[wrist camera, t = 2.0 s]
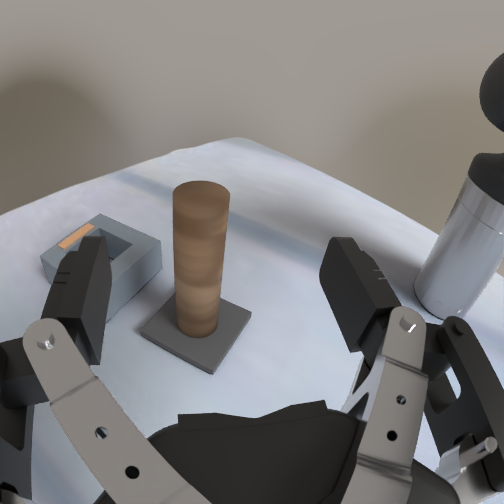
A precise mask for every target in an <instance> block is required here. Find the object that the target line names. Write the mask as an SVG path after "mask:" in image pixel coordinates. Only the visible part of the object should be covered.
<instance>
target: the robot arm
mask: <svg viewBox="0 0 504 504" xmlns="http://www.w3.org/2000/svg"><path fill="white" fill-rule="evenodd" d="M479 97H480V104H481V108H482V110H483V112H484V114H485V116H486V117H487V118H488V120H489V121H490V122H491V123H492V124H493V125H495V126H496V127H497V128H498V129H500V130H501V131H503V132H504V53H503V54H502V55H500V56H499V57H498V58H497V59H496V60H495V61H494V62H493V63H492V64H491V65H490V67H489V68H488V70H487V71H486V73H485V75H484V77H483V79H482V82H481V86H480V96H479ZM503 259H504V153H501V154H492V153H479V154H477V155H476V156H475V157H474V159H473V161H472V163H471V166H470V168H469V171H468V174H467V176H466V178H465V181H464V183H463V186H462V188H461V190H460V193H459V195H458V198H457V199H456V202H455V204H454V206H453V209H452V210H451V213H450V215H449V217H448V219H447V221H446V223H445V225H444V227H443V229H442V231H441V233H440V235H439V237H438V239H437V241H436V243H435V245H434V247H433V249H432V251H431V253H430V255H429V257H428V258H427V260H426V262H425V264H424V266H423V267H422V269H421V271H420V273H419V275H418V276H417V278H416V280H415V282H414V289H415V293H416V296H417V298H418V299H419V301H420V302H421V303H422V305H423V306H424V307H425V308H426V309H427V310H428V311H429V312H431V313H432V314H434V315H435V316H437V317H439V318H441V319H444V322H443V323H442V324H441V325H437V324H431V323H425V321H424V319H423V318H422V316H421V315H420V314H419V313H418V312H416V311H415V310H413V309H411V308H409V307H405V306H402V305H401V303H400V301H399V300H398V298H397V296H396V295H395V293H394V291H393V290H392V288H391V287H390V285H389V283H388V282H387V280H386V279H385V277H384V275H383V274H382V272H381V271H380V269H379V267H378V266H377V264H376V263H375V261H374V259H372V258H371V257H370V256H369V255H368V254H367V253H365V252H364V251H361V250H360V249H359V247H358V245H357V244H356V242H355V241H354V239H353V238H350V237H332V238H331V239H330V241H329V244H328V247H327V250H326V253H325V256H324V259H323V261H322V264H321V267H320V272H319V279H320V284H321V286H322V288H323V291H324V293H325V295H326V298H327V300H328V302H329V304H330V307H331V309H332V311H333V314H334V316H335V318H336V321H337V323H338V325H339V328H340V330H341V332H342V335H343V337H344V339H345V342H346V344H347V347H348V349H349V351H350V353H352V352H358V351H362V353H363V355H364V356H363V357H362V359H361V361H360V363H359V366H358V369H357V372H356V375H355V378H354V381H353V384H352V387H351V389H350V392H349V395H348V397H347V400H346V402H345V404H344V406H343V407H342V409H341V410H340V411H337V410H332V409H327V406H326V403H325V400H321V401H315V402H309V403H302V404H296V405H290V406H288V407H285V408H283V409H280V410H278V411H275V412H273V413H270V414H268V415H265V416H262V417H259V418H247V417H240V416H233V415H226V414H220V413H203V414H178V423H177V424H174V425H170V426H168V427H165V428H163V429H161V430H159V431H157V432H155V433H154V434H152V435H151V436H150V437H148V438H147V439H146V438H145V437H144V436H143V434H142V433H141V432H140V431H139V430H138V428H137V427H136V426H135V425H134V424H133V422H132V421H131V420H130V419H129V417H128V416H127V415H126V414H125V412H124V411H123V410H122V408H121V407H120V406H119V405H118V403H117V402H116V401H115V399H114V398H113V397H112V395H111V394H110V393H109V391H108V390H107V388H106V387H105V386H104V384H103V383H102V382H101V380H100V379H99V378H98V377H97V376H95V375H94V373H93V372H92V370H91V369H90V365H100V359H101V351H102V343H103V336H104V329H105V323H106V316H107V310H108V304H109V299H110V293H111V287H112V270H111V265H110V260H109V254H108V248H107V242H106V238H105V236H83V238H82V240H81V243H80V246H79V248H78V251H69V252H68V253H67V254H66V255H65V257H64V258H63V259H62V260H61V261H60V264H59V266H58V269H57V271H56V275H55V277H54V280H53V284H52V285H51V288H50V291H49V294H48V297H47V300H46V303H45V306H44V309H43V312H42V316H41V319H40V320H38V321H36V322H34V323H33V324H31V325H30V326H29V327H28V329H27V330H26V332H25V334H24V337H21V338H18V339H14V340H10V341H6V342H1V343H0V504H37V503H35V502H34V501H32V492H31V448H32V428H33V415H34V404H38V403H43V402H47V401H50V403H51V404H50V407H51V409H52V411H53V413H54V415H55V417H56V418H57V420H58V422H59V423H60V425H61V427H62V428H63V430H64V432H65V433H66V435H67V437H68V438H69V440H70V441H71V443H72V444H73V446H74V447H75V449H76V450H77V452H78V453H79V455H80V456H81V458H82V459H83V461H84V462H85V464H86V465H87V466H88V468H89V469H90V471H91V472H92V473H93V475H94V476H95V477H96V479H97V480H98V481H99V483H100V484H101V485H102V487H103V488H104V489H105V490H104V491H103V493H102V494H101V495H100V496H99V498H98V499H97V500H96V501H95V503H94V504H479V503H481V502H482V501H484V500H486V499H488V498H491V497H493V496H495V495H498V494H500V493H502V492H504V389H503V387H502V385H501V383H500V381H499V379H498V377H497V375H496V373H495V371H494V369H493V367H492V365H491V363H490V361H489V360H488V358H487V356H486V354H485V352H484V350H483V348H482V347H481V345H480V343H479V341H478V339H477V338H476V336H475V334H474V332H473V331H472V329H471V327H470V326H469V325H468V323H467V322H466V321H464V320H463V319H462V318H463V317H464V316H465V315H466V313H467V312H468V311H469V309H470V308H471V307H472V305H473V304H474V303H475V301H476V300H477V298H478V297H479V296H480V294H481V293H482V291H483V290H484V288H485V287H486V285H487V284H488V282H489V281H490V279H491V278H492V276H493V275H494V273H495V272H496V270H497V269H498V267H499V265H500V263H501V262H502V260H503ZM450 367H452V369H453V371H454V373H455V375H456V377H457V380H458V382H459V384H460V387H461V393H460V396H459V398H458V399H457V398H456V396H455V393H454V391H453V389H452V387H451V384H450V382H449V380H448V378H447V376H446V373H445V372H446V371H447V370H448V369H449V368H450ZM423 411H424V413H425V416H426V419H427V421H428V424H429V427H430V429H431V432H432V435H433V438H434V441H435V444H436V446H437V449H438V452H439V455H440V458H441V459H440V462H439V467H437V468H436V470H435V472H433V471H431V470H430V469H428V468H427V467H425V466H424V465H423V464H421V463H420V462H418V461H417V460H415V459H414V458H413V457H414V453H415V449H416V444H417V440H418V435H419V431H420V426H421V421H422V416H423Z"/></svg>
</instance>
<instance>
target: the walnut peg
mask: <svg viewBox="0 0 504 504" xmlns="http://www.w3.org/2000/svg"><path fill="white" fill-rule="evenodd" d="M229 201H230V193H229V191H228V190H227V189H226V188H225V187H223V186H222V185H220V184H217V183H214V182H209V181H191V182H186V183H183V184H181V185H179V186H178V187H176V188H175V189H174V191H173V250H174V278H175V299H176V316H177V326H178V328H179V330H180V331H181V332H182V333H183V334H185V335H186V336H188V337H191V338H204V337H207V336H209V335H211V334H212V333H213V332H214V331H215V330H216V328H217V325H218V315H219V304H220V292H221V281H222V271H223V260H224V250H225V240H226V230H227V220H228V210H229Z"/></svg>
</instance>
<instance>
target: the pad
mask: <svg viewBox="0 0 504 504" xmlns="http://www.w3.org/2000/svg"><path fill="white" fill-rule="evenodd" d="M251 314H252V312H250V311H248V310H246V309H244V308H241V307H239V306H237V305H235V304H233V303H230V302H228V301H226V300H224V299H222V298H220V304H219V315H218V325H217V328H216V330H215V331H214V332H213V333H212V334H211V335H209V336H207V337H204V338H191V337H188V336H186V335H185V334H183V333H182V332H181V331H180V330H179V328H178V326H177V316H176V299H175V294H174V295H173V296H172V297H171V298H170V299H169V300H168V301H167V302H166V303H165V304H164V305H163V307H162V308H161V309H160V310H159V311H158V312H157V313H156V314H155V315H154V316H153V317H152V318H151V320H150V321H149V322H148V323H147V324H146V325H145V326H144V327H143V328H142V329H141V330H140V331H141V335H142V336H143V337H145V338H147V339H148V340H150V341H152V342H153V343H155V344H157V345H159V346H160V347H162V348H164V349H165V350H167V351H169V352H171V353H173V354H174V355H176V356H178V357H180V358H182V359H183V360H185V361H187V362H189V363H191V364H193V365H195V366H196V367H198V368H200V369H202V370H204V371H206V372H208V373H210V374H212V375H213V373H214V372H215V370H216V369H217V367H218V366H219V365H220V363H221V362H222V360H223V359H224V357H225V356H226V354H227V353H228V351H229V350H230V348H231V346H232V345H233V343H234V342H235V340H236V339H237V337H238V336H239V334H240V333H241V331H242V330H243V328H244V327H245V325H246V324H247V322H248V321H249V319H250V317H251Z"/></svg>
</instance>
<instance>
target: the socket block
mask: <svg viewBox="0 0 504 504" xmlns="http://www.w3.org/2000/svg"><path fill="white" fill-rule="evenodd" d="M83 236H105V238H106V242H107V248H108V254H109V257H111V258H112V259H114V260H113V261H112V262H111V263H110V265H111V270H112V287H111V293H110V299H109V304H108V310H107V316H106V322H107V321H108V320H109V319H110V318H111V317H112V316H113V315H114V314H115V313H116V312H118V311H119V310H120V309H121V308H122V307H123V306H124V305H125V304H126V303H127V302H128V301H129V300H130V299H131V298H132V297H133V296H134V295H135V294H136V293H137V292H138V291H139V290H140V289H141V288H142V287H143V286H144V285H145V284H146V283H147V282H148V281H149V280H150V279H151V278H152V277H154V276H155V275H156V274H157V273H158V272H159V271H160V270H161V269H162V254H161V241H160V240H157V239H155V238H153V237H151V236H148V235H146V234H144V233H142V232H140V231H137V230H135V229H133V228H131V227H129V226H126V225H124V224H122V223H120V222H118V221H115V220H113V219H111V218H109V217H107V216H104V215H102V214H99V215H97V216H96V217H94V218H93V219H91V220H90V221H88V222H87V223H85V224H84V225H82V226H81V227H80V228H78V229H77V230H75V231H74V232H72V233H71V234H70V235H68V236H67V237H65V238H64V239H63V240H61V241H60V242H59V243H57V244H56V245H54V246H53V247H52V248H50V249H49V250H48V251H46V252H45V253H44V254H42V255H41V256H40V258H41V261H42V264H43V267H44V270H45V273H46V275H47V278H48V281H49V283H50V284H53V280H54V277H55V275H56V271H57V269H58V266H59V264H60V261H61V260H62V259H63V258H64V257H65V255H66V254H67V253H68V252H69V251H78V248H79V246H80V243H81V240H82V238H83Z"/></svg>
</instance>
